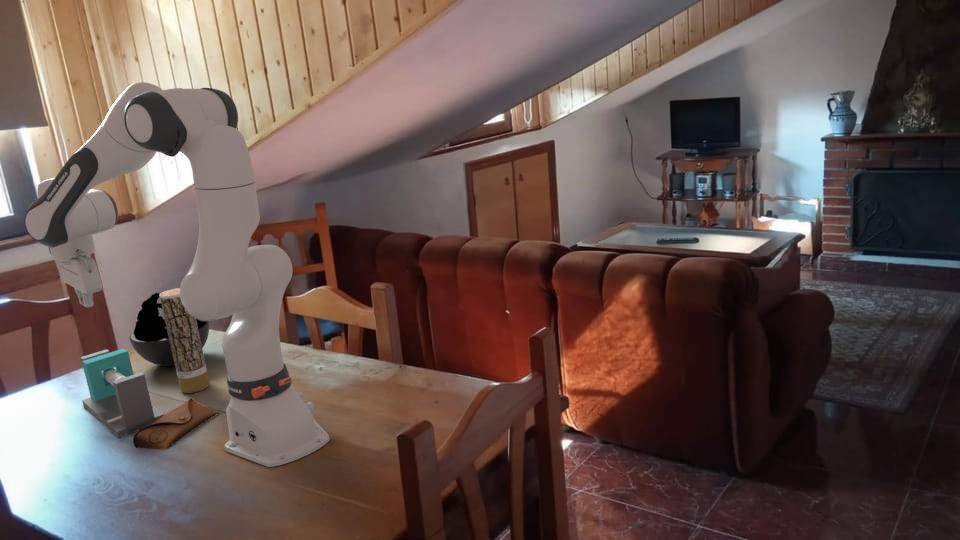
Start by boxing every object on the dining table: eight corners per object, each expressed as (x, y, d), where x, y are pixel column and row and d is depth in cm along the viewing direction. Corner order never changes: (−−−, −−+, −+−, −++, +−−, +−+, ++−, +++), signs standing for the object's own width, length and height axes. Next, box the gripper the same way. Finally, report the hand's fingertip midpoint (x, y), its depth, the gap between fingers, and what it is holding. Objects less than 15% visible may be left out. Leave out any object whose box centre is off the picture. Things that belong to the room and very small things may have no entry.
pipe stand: (165, 420, 166) (153, 371, 163) (118, 438, 160) (106, 387, 156) (126, 391, 185) (115, 346, 182) (83, 406, 178) (71, 360, 175)
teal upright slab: (136, 387, 175) (128, 351, 173) (95, 401, 169) (86, 364, 167) (132, 384, 177) (123, 348, 175) (91, 397, 171) (82, 361, 169)
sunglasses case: (165, 451, 152) (146, 424, 151) (146, 463, 155) (127, 438, 154) (222, 411, 168) (205, 387, 167) (204, 423, 171) (187, 399, 170)
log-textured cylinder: (203, 393, 179) (182, 295, 172) (176, 395, 179) (154, 297, 172) (213, 381, 185) (194, 286, 179) (187, 383, 186) (166, 289, 179)
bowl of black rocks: (211, 369, 193) (197, 301, 188) (130, 383, 189) (113, 314, 184) (219, 344, 212) (206, 281, 207) (145, 356, 208) (130, 293, 203)
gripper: (101, 249, 162) (116, 309, 166) (75, 240, 177) (88, 294, 180) (70, 256, 158) (85, 317, 162) (46, 246, 173) (60, 302, 176)
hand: (87, 305), depth 171 cm, fingers closed
